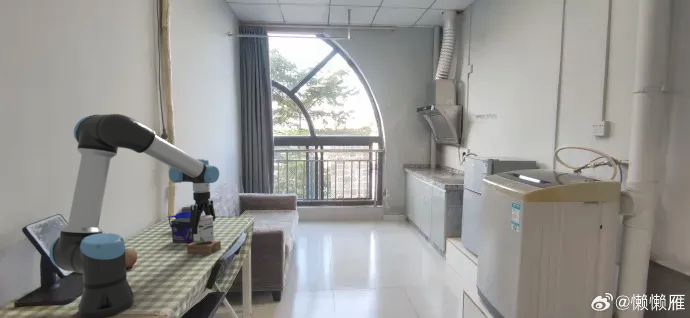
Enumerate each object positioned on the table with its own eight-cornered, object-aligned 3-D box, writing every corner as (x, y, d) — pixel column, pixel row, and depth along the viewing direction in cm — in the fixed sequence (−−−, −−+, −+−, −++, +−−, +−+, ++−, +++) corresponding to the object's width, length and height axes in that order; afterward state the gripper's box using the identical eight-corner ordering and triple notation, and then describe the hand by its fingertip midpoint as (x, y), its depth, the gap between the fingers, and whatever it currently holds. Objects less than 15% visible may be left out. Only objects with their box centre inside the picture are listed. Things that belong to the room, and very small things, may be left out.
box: (171, 243, 185) (170, 220, 184) (180, 239, 191) (179, 217, 191) (200, 245, 181) (199, 221, 180) (208, 241, 187) (207, 218, 187)
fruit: (118, 265, 153) (117, 247, 153) (139, 263, 156) (138, 245, 156) (113, 272, 146) (112, 253, 145) (135, 269, 149) (134, 250, 148)
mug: (169, 230, 210) (168, 213, 209) (191, 227, 215) (190, 211, 214) (168, 233, 203) (168, 216, 202) (191, 230, 208) (191, 214, 207)
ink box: (195, 243, 166) (194, 218, 165) (193, 240, 170) (192, 216, 170) (214, 240, 171) (213, 216, 170) (212, 237, 175) (210, 214, 174)
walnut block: (209, 254, 165) (208, 246, 165) (187, 253, 168) (187, 244, 168) (220, 248, 174) (220, 240, 174) (199, 247, 177) (199, 239, 177)
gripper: (192, 195, 157) (195, 244, 159) (222, 188, 179) (223, 231, 180) (178, 194, 159) (181, 243, 161) (209, 187, 181) (211, 231, 182)
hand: (203, 237), depth 171 cm, fingers closed on ink box, 9 cm apart
